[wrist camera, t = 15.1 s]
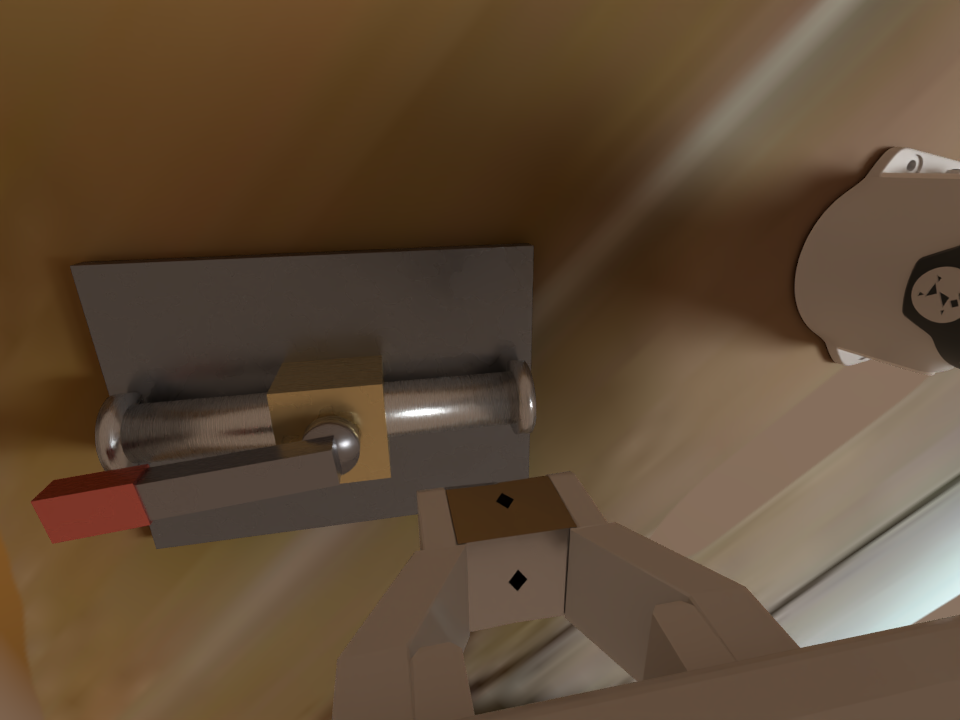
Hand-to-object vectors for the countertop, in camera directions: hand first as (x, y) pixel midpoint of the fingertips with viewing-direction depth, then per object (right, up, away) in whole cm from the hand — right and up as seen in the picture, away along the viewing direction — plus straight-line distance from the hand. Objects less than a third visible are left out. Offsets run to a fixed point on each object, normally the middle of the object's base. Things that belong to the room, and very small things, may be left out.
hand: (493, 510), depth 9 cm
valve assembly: (-11, 0, +29) cm, 31 cm away
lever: (-16, -3, +22) cm, 27 cm away
